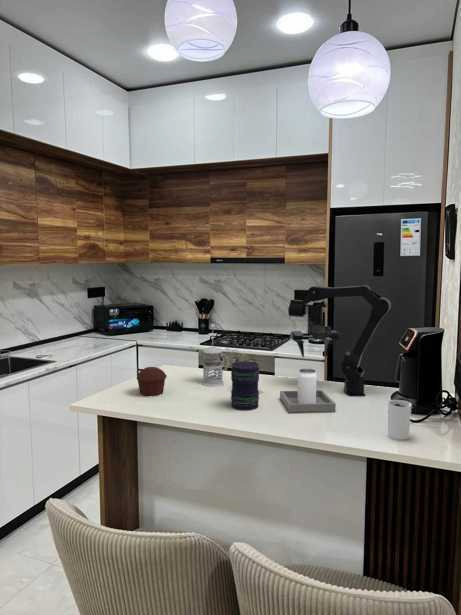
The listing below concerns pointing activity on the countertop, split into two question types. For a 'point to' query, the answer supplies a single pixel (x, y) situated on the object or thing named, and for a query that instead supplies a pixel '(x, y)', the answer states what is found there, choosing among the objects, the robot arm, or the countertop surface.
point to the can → (306, 386)
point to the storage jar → (245, 385)
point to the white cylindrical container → (399, 419)
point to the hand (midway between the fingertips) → (314, 356)
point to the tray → (320, 406)
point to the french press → (213, 379)
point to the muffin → (151, 381)
